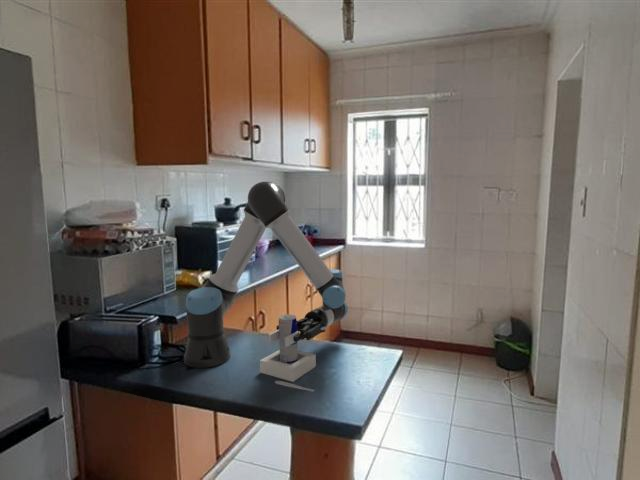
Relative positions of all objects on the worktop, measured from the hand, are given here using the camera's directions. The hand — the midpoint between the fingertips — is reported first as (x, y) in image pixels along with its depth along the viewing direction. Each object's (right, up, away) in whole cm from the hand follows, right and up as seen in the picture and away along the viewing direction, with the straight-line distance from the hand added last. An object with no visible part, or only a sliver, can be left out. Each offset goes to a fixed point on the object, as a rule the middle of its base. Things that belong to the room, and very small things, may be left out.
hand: (277, 340), depth 126 cm
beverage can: (+3, -8, +5) cm, 11 cm away
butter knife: (+12, -13, -8) cm, 19 cm away
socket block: (+3, -10, +6) cm, 12 cm away
